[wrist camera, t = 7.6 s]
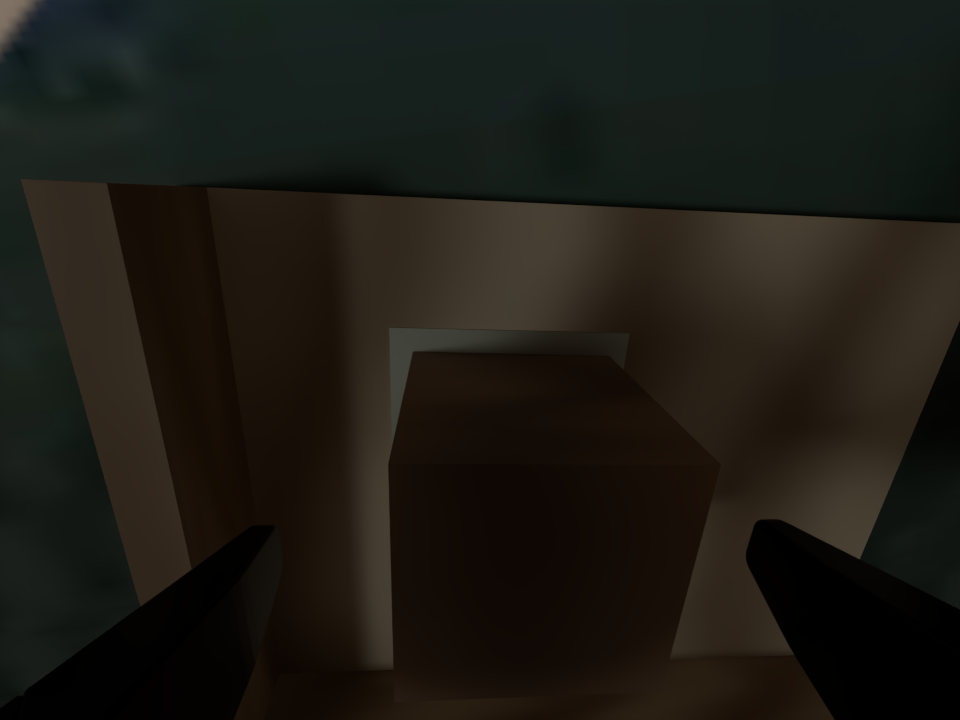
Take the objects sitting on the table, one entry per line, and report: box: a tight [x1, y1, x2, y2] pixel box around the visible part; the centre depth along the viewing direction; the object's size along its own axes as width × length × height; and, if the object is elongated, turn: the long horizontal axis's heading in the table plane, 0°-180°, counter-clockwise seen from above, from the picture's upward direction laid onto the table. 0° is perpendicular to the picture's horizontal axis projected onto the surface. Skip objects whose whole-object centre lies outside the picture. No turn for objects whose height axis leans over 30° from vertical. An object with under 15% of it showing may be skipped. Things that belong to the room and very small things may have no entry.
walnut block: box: [388, 352, 721, 703], centre depth 10 cm, size 5×5×5 cm
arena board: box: [21, 179, 960, 720], centre depth 12 cm, size 20×16×4 cm
